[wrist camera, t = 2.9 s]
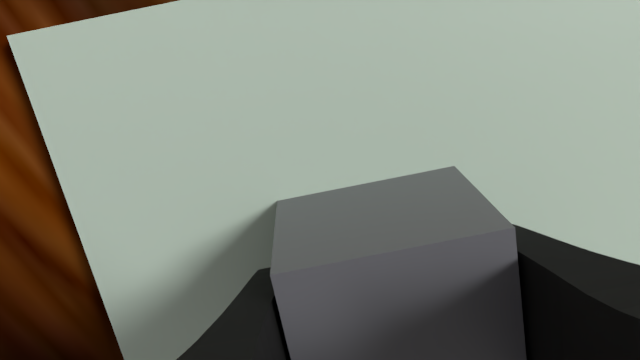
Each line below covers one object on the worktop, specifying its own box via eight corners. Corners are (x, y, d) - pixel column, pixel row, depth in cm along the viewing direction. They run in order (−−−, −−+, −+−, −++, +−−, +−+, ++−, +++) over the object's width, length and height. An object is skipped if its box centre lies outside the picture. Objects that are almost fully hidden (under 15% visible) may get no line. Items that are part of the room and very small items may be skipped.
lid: (637, 410, 15) (763, 558, 11) (188, 494, 16) (148, 669, 11) (632, -91, 11) (823, -146, 7) (25, 34, 12) (-123, 49, 7)
